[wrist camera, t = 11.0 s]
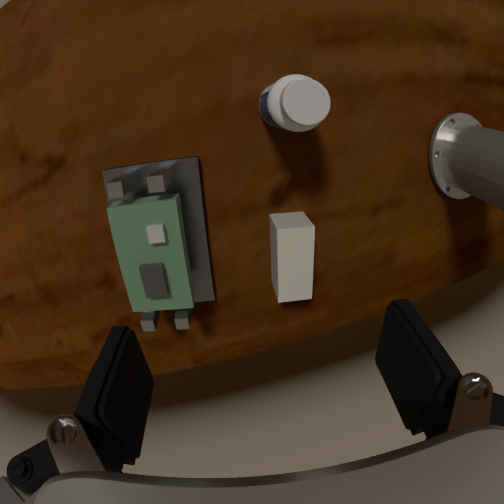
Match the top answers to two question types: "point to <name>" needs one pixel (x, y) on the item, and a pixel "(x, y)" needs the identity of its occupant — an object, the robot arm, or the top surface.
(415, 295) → the top surface
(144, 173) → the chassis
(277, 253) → the block
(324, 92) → the pill bottle
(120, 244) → the board
